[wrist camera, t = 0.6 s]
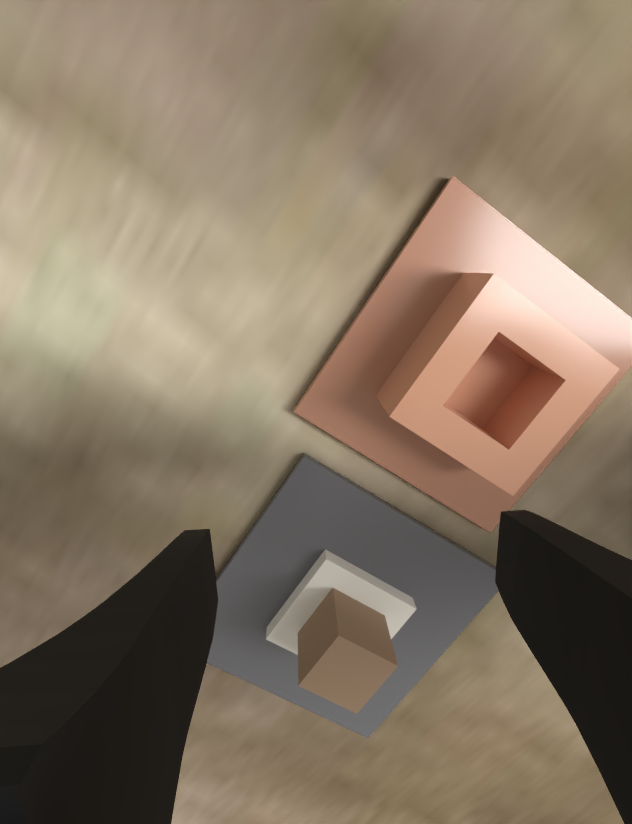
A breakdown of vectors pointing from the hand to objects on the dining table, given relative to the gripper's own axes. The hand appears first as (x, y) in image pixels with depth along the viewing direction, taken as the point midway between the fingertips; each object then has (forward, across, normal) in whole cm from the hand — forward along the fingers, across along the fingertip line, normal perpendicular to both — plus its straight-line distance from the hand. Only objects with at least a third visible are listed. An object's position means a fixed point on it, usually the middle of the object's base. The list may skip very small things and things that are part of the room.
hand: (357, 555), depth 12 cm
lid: (+9, 0, +10) cm, 13 cm away
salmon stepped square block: (+10, -6, -2) cm, 12 cm away
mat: (+10, 0, +10) cm, 14 cm away
